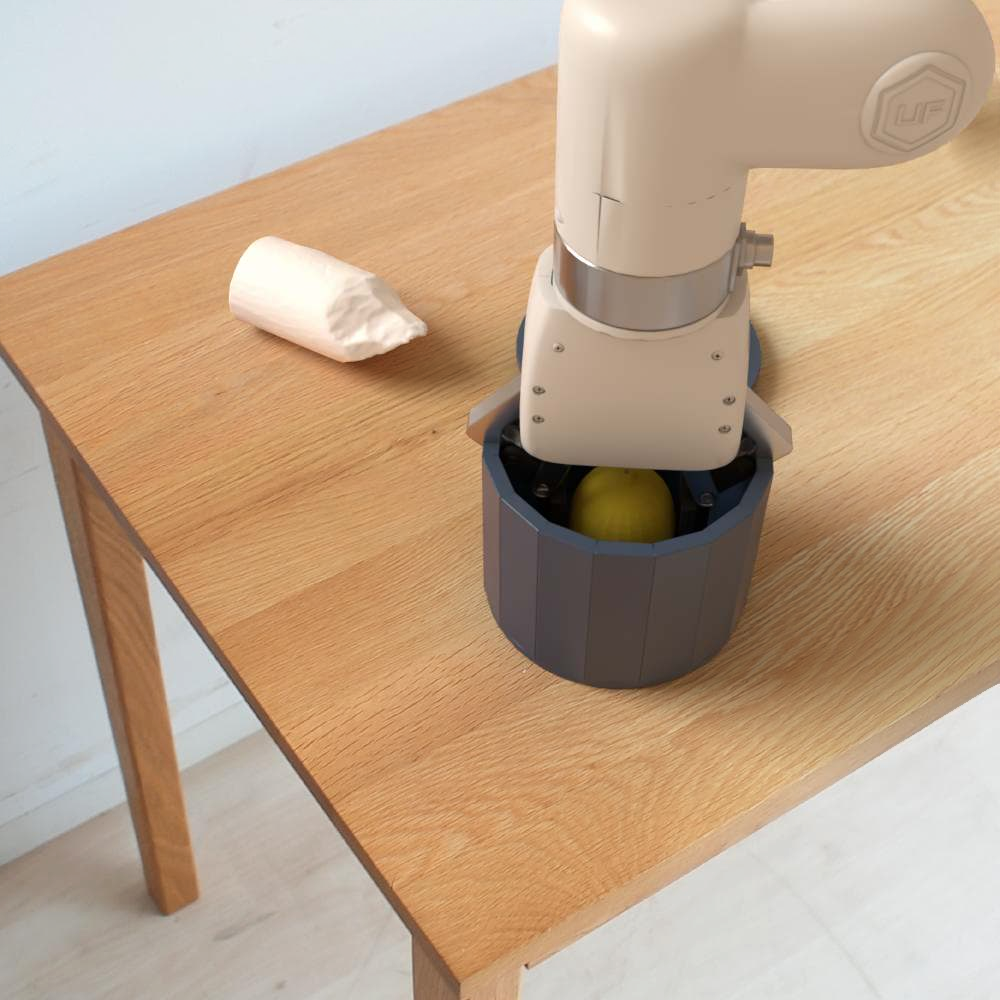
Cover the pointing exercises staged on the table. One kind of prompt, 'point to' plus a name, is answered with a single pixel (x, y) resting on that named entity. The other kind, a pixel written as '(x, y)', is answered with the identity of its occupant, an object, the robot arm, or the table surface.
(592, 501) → the lemon
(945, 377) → the table surface
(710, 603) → the pot
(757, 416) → the robot arm
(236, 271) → the broken white chalk
